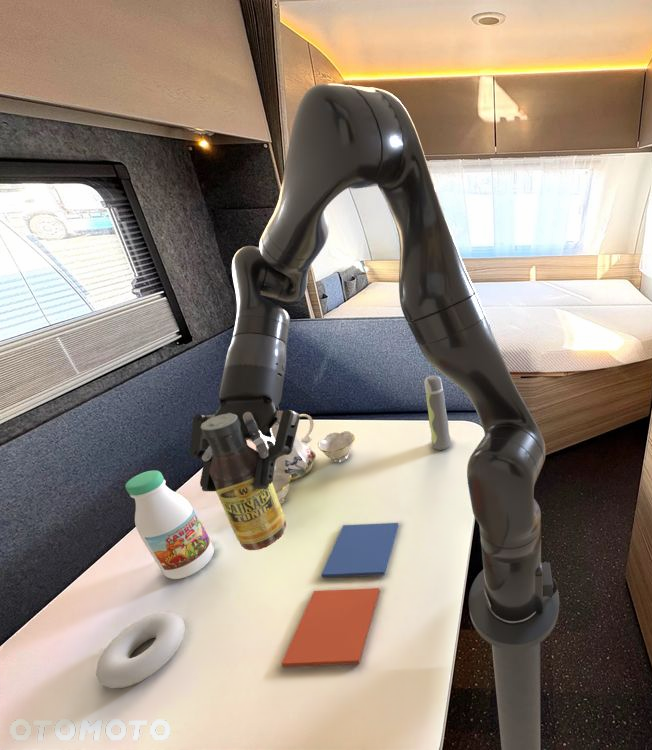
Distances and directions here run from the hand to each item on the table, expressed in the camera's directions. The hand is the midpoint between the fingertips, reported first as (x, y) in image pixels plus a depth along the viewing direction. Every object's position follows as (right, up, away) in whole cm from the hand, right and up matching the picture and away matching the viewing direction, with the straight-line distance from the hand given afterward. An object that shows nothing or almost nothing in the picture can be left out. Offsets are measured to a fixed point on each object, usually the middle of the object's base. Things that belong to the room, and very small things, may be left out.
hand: (235, 489), depth 51 cm
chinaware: (-13, -9, +42) cm, 45 cm away
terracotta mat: (+9, -24, +9) cm, 27 cm away
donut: (-18, -27, +6) cm, 33 cm away
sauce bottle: (0, -9, +6) cm, 11 cm away
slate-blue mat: (+9, -18, +21) cm, 29 cm away
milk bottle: (-23, -20, +21) cm, 37 cm away
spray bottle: (+20, -3, +50) cm, 54 cm away
